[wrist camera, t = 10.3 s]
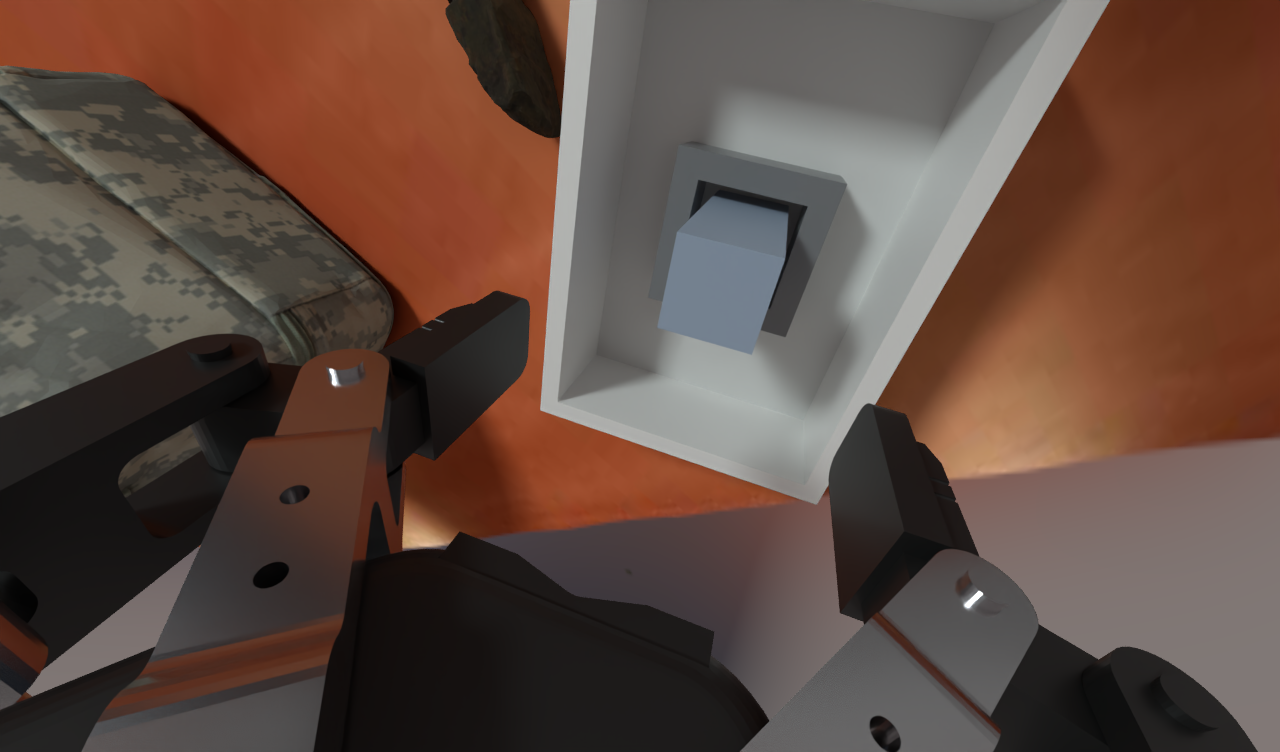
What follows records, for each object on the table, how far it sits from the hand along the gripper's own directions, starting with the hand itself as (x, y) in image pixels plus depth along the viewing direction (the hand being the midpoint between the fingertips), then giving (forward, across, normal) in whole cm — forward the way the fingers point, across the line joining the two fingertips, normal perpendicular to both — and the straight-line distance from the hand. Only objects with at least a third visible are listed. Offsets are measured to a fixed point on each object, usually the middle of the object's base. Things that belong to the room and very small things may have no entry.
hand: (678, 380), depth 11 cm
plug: (+16, 0, 0) cm, 16 cm away
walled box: (+17, 0, 0) cm, 17 cm away
